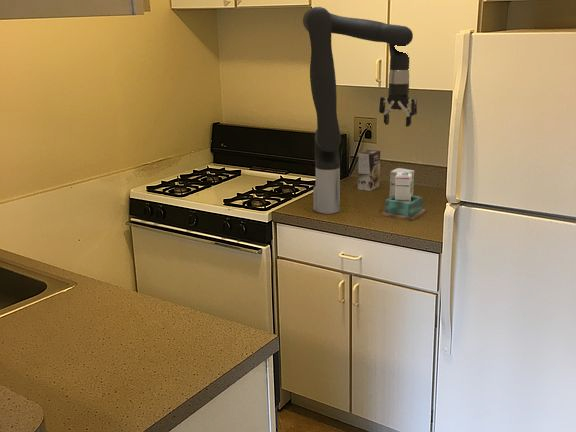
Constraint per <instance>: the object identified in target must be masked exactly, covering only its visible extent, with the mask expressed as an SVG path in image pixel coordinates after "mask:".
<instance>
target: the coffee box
mask: <svg viewBox="0 0 576 432" xmlns="http://www.w3.org/2000/svg"><path fill="white" fill-rule="evenodd" d="M357 164H358V165H357V166H358V168H357V170H358V172H357V190H360V191H367V192H371V191H374V190H375V189H377V188H379V187H380V173H381V172H380V170H381V169H380V168H381V150H375V149H366V150H363V151H361V152H359V153H358V163H357Z"/></svg>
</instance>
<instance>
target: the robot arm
mask: <svg viewBox="0 0 576 432" xmlns="http://www.w3.org/2000/svg"><path fill="white" fill-rule="evenodd" d="M302 23H303V27H304V29H305V30H306V31H308V35H309V42H310V48H311V51H310V52H311V53H310V61H309V63H310V65H309V80H310V81H309V82H310V89H311V96H312V100H313V105H314V108H315V111H316V112H315V113H316V122H317V123H316V125H317V126H316V127H317V128H316V131H315V134H314V161H315V163H314V164H315V186H313V198H312V199H313V203H312V204H313V205H312V206H313V211H315V212H317V213H319V214H327V215H328V214H336V213H339V212H340V205H341V204H340V195H341V194H340V190H341V189H340V183H341V181H340V180H341V179H340V178H341V177H340V175H341V172H340V171H341V160H340V144H341V143H342V136H341V131H340V125H339V120H338V113H337V104H338V102H337V97H338V96H337V95H338V94H337V81H336V71H335V61H334V55H333V49H332V48H333V47H332V34H335V35H336V34H337V35H343V36H347V37H351V38H355V39H359V40H364V41H370V42H375V43H386V44H388V48H389V49H388V51H389V57H390V58H389V59H390V60H389V73H388V91H387V93H388V94H387V95H388V96H387V97H386V96H381V97H379V108H378V109H379V111H378V112H379V114H383V123H384V125H386V126H387V125H389V124H390V112H391V111H392V110H399V111H401V110H402V112H403V113H404V114H405V116H406V118H405V127H407V128H408V127H410V126H411V125H412V117H413V116H415V115H417V113H418V104H417V103H418V100H417V98H416V97H415V98H409V93H410V81H409V79H410V56H409V57H408V55H409V54H408V53H407V54H408V55H407V54H406V53H403V52H399V51H397V50H396V49H395V47H394V46H395V45H397V46H406V45H407V46H408V45H409V44H411V42H412V41H413V39H414V38H413V36H414V34H413V31H412V29H411V28H409V27H408V26H405V25H399V24H392V23H391V24H390V23H385V22H382V21H377V20H371V19H366V18H357V17H356V18H355V17H347V16H341V15H337V14H334V13H331V12H329V10H327V8H324V7H322V6H314V7H310V9H308V10H307V11H306V12H305V13H304V15H303V17H302ZM408 69H409V70H408ZM386 103H388V105H387V107H386ZM408 104H409V105H410V106H411V108H410V107H409V105H408Z"/></svg>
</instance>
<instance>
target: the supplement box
mask: <svg viewBox="0 0 576 432" xmlns="http://www.w3.org/2000/svg"><path fill="white" fill-rule="evenodd" d="M397 172H398V173H399V172H407V173H412V193H411V196H414V186H415V185H414V183H415V182H414V181H415V170H413V169H408V168H402V167H397V168H395V169H393V170H390V175H389V176H390V179H389V197H388V198H390V197H392V196H393V195H395V176H396V174H397Z"/></svg>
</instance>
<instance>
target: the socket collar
mask: <svg viewBox="0 0 576 432" xmlns="http://www.w3.org/2000/svg"><path fill="white" fill-rule="evenodd" d="M389 197H390V196H389ZM389 197H388V198H386V199H385V205H384V207H385V208H384V211H382V212H381V213H380V216H381V217H387V218H393V219H399V220H405V221H411V222H414V221H416V220H417V219H418V218H420V217H421V216H423V215H424V214H426V213H427V209H426V208H423V204H424V197H423V196H417V195H413V196H411V202H410V203H409V202H402V201H396V200H395V195H393V196H392V197H390V198H389Z"/></svg>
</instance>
